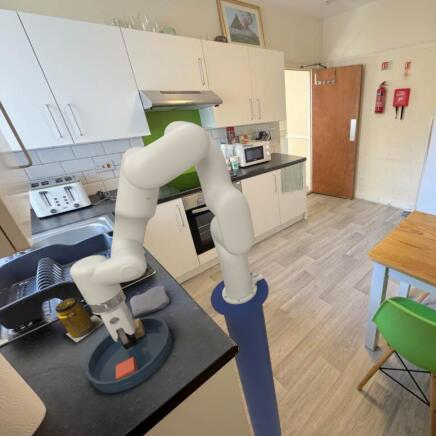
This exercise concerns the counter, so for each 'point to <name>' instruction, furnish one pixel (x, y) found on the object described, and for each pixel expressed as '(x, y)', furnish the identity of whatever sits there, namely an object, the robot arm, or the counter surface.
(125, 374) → the coral block
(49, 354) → the counter surface
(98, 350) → the bowl
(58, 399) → the counter surface
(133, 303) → the stone block
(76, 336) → the condiment
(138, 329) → the maple block
